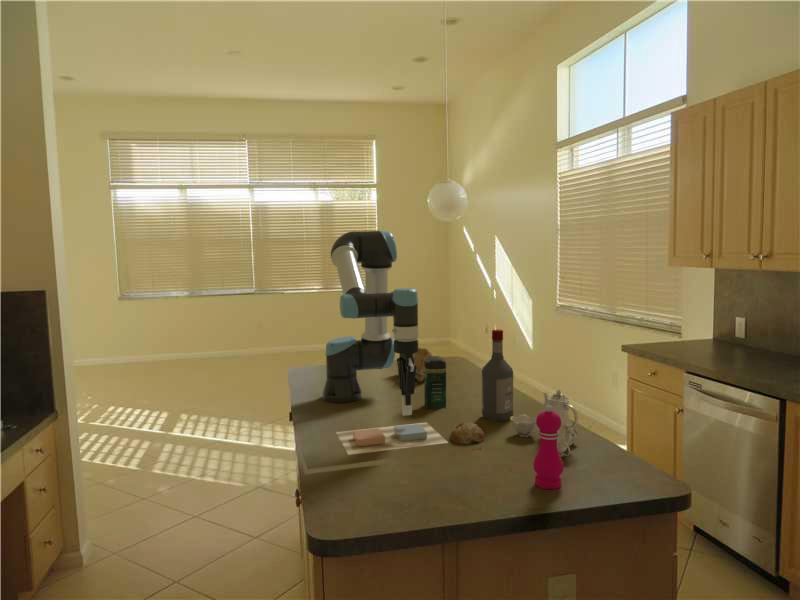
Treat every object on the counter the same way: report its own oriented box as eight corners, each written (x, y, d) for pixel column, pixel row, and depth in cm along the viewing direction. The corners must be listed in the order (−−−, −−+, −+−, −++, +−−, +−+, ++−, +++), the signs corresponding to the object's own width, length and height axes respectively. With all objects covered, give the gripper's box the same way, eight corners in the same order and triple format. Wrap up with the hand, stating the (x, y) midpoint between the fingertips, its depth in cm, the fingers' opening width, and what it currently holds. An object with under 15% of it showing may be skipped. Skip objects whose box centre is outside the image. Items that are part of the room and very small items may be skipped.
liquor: (516, 416, 196) (516, 330, 193) (501, 423, 189) (501, 333, 186) (493, 411, 202) (493, 327, 199) (478, 417, 195) (478, 330, 192)
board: (335, 436, 179) (335, 432, 179) (426, 425, 187) (426, 422, 187) (348, 458, 160) (348, 454, 160) (448, 446, 168) (448, 442, 168)
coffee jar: (448, 410, 204) (447, 359, 202) (426, 411, 203) (425, 360, 201) (444, 403, 213) (444, 354, 212) (423, 403, 213) (422, 354, 211)
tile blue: (394, 426, 177) (401, 434, 169) (418, 423, 179) (426, 431, 171) (394, 433, 177) (401, 442, 169) (418, 430, 179) (427, 439, 172)
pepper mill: (529, 478, 145) (529, 401, 143) (557, 477, 146) (557, 400, 144) (538, 490, 138) (539, 410, 136) (567, 489, 138) (568, 408, 136)
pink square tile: (352, 431, 173) (358, 439, 165) (378, 428, 175) (385, 436, 168) (352, 438, 173) (358, 447, 166) (378, 435, 176) (385, 444, 168)
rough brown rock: (450, 384, 245) (452, 349, 244) (414, 384, 239) (416, 349, 239) (429, 374, 267) (431, 342, 266) (396, 374, 261) (397, 342, 260)
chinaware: (501, 437, 180) (496, 387, 178) (544, 425, 186) (540, 376, 184) (557, 470, 154) (553, 411, 152) (606, 454, 160) (602, 397, 158)
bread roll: (458, 460, 167) (465, 440, 163) (441, 436, 175) (447, 416, 171) (486, 454, 172) (493, 434, 168) (468, 431, 179) (475, 411, 176)
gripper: (388, 336, 179) (389, 409, 182) (400, 343, 167) (401, 422, 169) (411, 335, 181) (412, 407, 184) (424, 341, 169) (425, 419, 171)
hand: (407, 414), depth 177 cm, fingers closed
